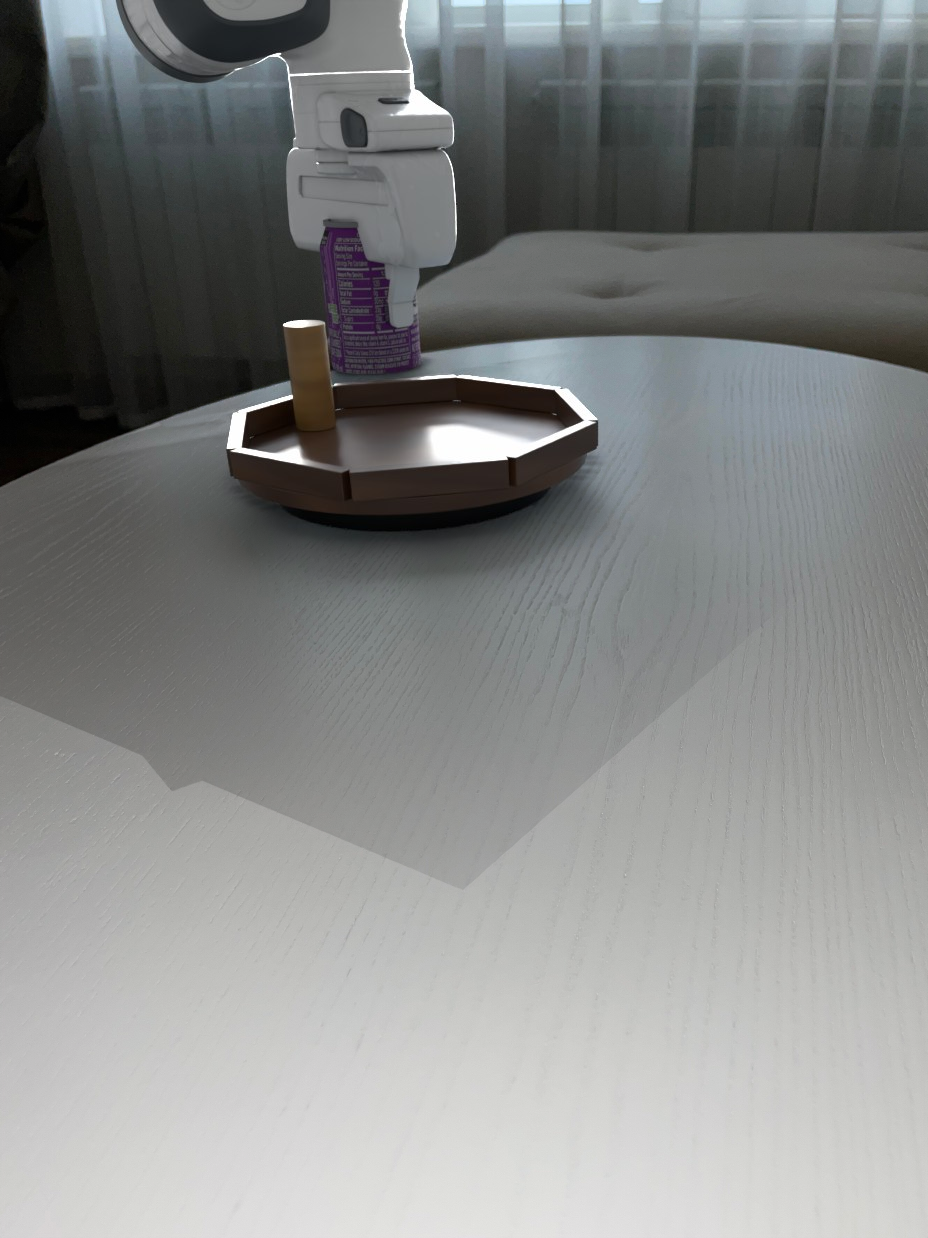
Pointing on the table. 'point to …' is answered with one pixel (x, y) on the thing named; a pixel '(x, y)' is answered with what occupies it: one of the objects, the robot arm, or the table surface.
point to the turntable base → (416, 517)
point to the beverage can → (361, 308)
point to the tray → (403, 439)
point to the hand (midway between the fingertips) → (373, 319)
